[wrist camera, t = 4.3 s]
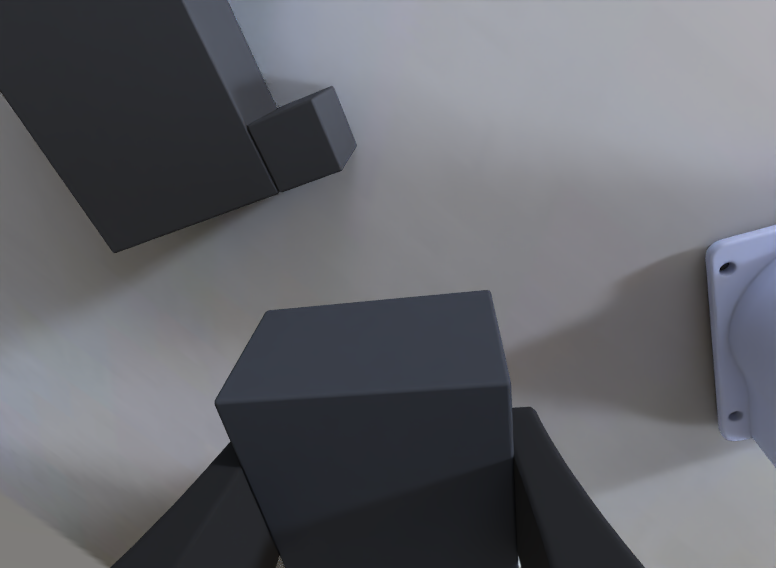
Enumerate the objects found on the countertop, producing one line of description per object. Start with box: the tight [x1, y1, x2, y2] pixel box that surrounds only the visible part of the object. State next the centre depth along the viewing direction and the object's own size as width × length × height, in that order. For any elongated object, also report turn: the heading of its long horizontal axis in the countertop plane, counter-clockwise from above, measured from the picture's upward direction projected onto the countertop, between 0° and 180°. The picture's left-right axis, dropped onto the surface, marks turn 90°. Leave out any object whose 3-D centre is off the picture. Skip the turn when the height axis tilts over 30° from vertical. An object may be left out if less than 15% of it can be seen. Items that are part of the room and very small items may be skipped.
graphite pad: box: [215, 290, 519, 568], centre depth 11 cm, size 5×8×3 cm, turn 9°
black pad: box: [0, 0, 357, 253], centre depth 14 cm, size 8×8×3 cm
